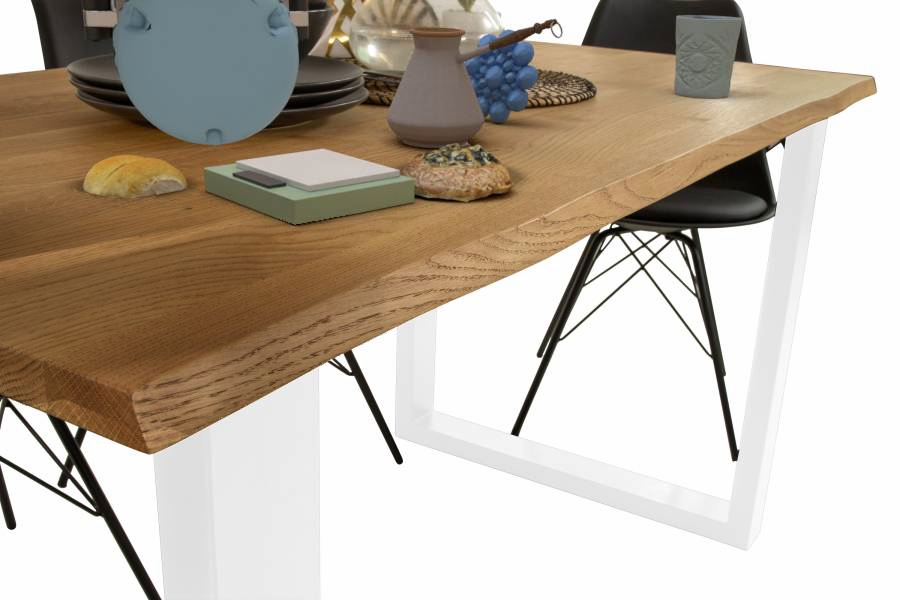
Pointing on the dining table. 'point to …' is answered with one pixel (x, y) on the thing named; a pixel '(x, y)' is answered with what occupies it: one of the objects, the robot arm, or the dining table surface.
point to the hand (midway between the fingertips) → (194, 0)
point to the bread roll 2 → (458, 173)
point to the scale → (310, 185)
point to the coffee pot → (443, 88)
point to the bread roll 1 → (133, 177)
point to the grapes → (502, 77)
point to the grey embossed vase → (705, 55)
